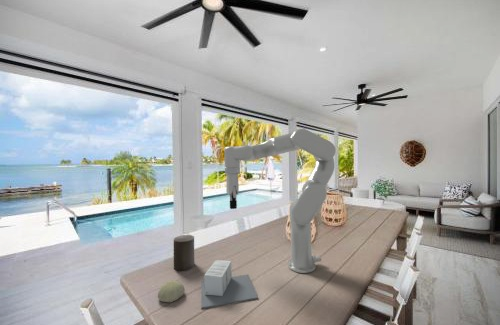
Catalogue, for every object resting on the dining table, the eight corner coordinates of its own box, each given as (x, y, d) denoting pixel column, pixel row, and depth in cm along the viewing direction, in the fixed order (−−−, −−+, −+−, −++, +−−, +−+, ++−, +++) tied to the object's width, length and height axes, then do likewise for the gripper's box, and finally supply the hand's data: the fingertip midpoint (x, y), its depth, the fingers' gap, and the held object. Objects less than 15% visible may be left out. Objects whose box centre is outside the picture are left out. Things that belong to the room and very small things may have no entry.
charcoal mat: (248, 275, 90) (248, 274, 90) (258, 298, 75) (258, 297, 75) (201, 282, 86) (201, 281, 86) (201, 309, 70) (201, 307, 70)
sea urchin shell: (160, 285, 82) (174, 269, 82) (175, 298, 82) (189, 283, 83) (151, 300, 73) (167, 283, 73) (168, 315, 73) (184, 297, 74)
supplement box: (232, 277, 88) (222, 297, 76) (215, 276, 89) (203, 295, 77) (231, 260, 88) (222, 277, 75) (215, 259, 89) (203, 275, 77)
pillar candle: (176, 273, 94) (176, 240, 94) (171, 264, 102) (171, 234, 102) (197, 267, 99) (197, 236, 99) (191, 259, 107) (191, 230, 107)
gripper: (223, 171, 109) (224, 206, 109) (226, 172, 94) (227, 212, 94) (237, 170, 111) (238, 205, 110) (242, 171, 96) (243, 211, 96)
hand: (233, 208), depth 102 cm, fingers closed
